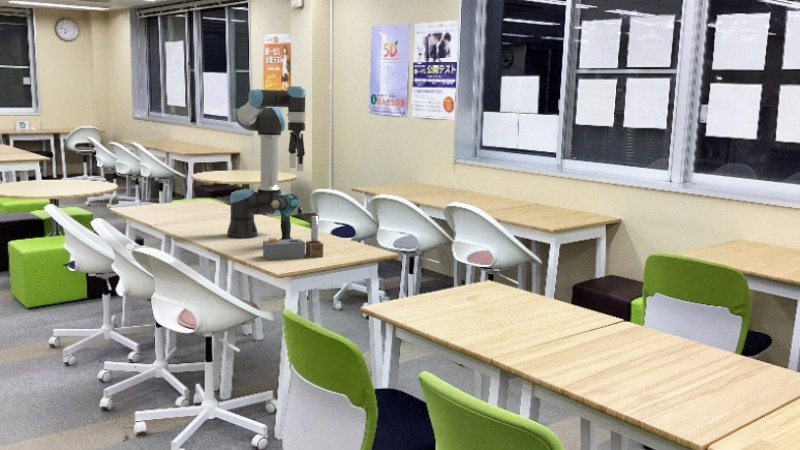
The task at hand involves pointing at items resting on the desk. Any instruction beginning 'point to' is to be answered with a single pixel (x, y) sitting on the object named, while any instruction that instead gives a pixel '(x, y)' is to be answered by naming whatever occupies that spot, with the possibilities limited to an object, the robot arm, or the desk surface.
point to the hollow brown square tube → (314, 249)
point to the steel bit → (314, 229)
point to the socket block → (284, 249)
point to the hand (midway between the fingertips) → (296, 169)
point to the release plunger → (272, 240)
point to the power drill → (285, 212)
